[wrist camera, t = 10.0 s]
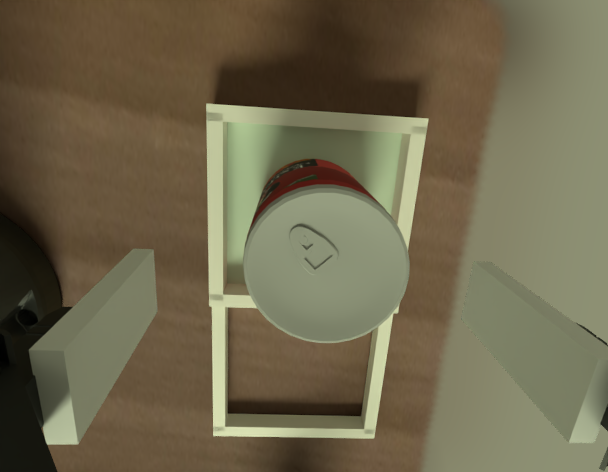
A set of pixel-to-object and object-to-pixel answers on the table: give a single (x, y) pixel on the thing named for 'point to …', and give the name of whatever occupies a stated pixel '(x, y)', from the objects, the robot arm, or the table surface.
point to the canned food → (323, 254)
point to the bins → (241, 208)
